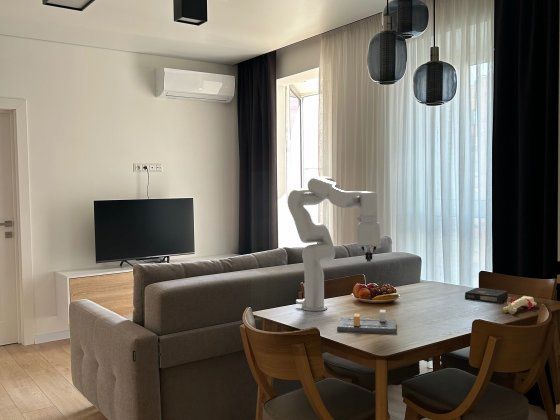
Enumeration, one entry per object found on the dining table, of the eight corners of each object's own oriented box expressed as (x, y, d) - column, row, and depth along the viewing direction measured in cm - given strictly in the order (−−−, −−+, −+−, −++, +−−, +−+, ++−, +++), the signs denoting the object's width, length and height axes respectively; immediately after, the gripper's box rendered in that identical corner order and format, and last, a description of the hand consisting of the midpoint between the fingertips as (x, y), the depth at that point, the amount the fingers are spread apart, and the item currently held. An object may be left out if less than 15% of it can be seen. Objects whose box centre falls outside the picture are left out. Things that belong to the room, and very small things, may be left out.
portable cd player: (464, 300, 292) (464, 292, 292) (476, 294, 305) (476, 287, 305) (496, 304, 282) (496, 296, 282) (507, 298, 295) (507, 291, 295)
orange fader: (353, 325, 233) (353, 316, 233) (354, 323, 237) (354, 313, 237) (359, 326, 232) (359, 316, 232) (360, 323, 237) (360, 313, 237)
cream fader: (379, 321, 240) (379, 311, 239) (380, 318, 244) (380, 309, 244) (385, 321, 239) (385, 312, 239) (385, 319, 244) (385, 309, 243)
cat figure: (518, 318, 257) (541, 305, 273) (517, 300, 256) (540, 287, 272) (497, 314, 264) (520, 302, 281) (496, 296, 263) (520, 285, 280)
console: (337, 331, 233) (337, 326, 233) (340, 321, 249) (340, 317, 249) (395, 333, 228) (395, 328, 228) (395, 323, 244) (395, 319, 244)
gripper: (351, 220, 244) (351, 262, 245) (385, 220, 241) (386, 262, 242) (352, 219, 251) (352, 259, 252) (386, 219, 248) (386, 260, 249)
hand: (368, 261), depth 247 cm, fingers closed
